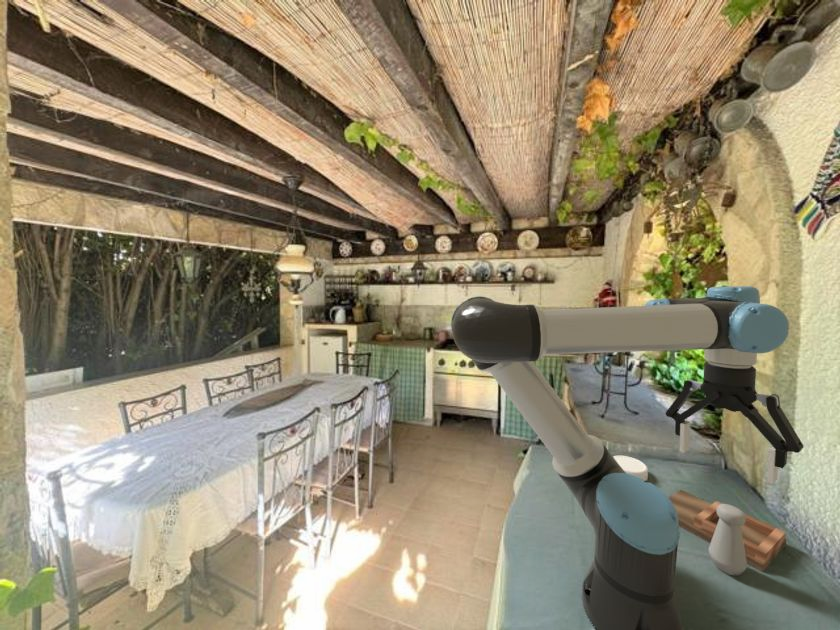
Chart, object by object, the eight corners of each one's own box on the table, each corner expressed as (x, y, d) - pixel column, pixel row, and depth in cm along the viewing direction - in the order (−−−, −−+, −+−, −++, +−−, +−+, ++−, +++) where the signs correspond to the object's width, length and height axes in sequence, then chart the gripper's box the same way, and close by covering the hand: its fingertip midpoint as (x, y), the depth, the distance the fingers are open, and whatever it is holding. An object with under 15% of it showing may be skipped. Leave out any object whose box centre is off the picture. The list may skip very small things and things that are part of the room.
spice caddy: (762, 571, 66) (764, 556, 65) (653, 511, 83) (654, 499, 83) (785, 545, 72) (787, 530, 72) (680, 494, 90) (681, 482, 90)
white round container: (654, 477, 99) (654, 466, 98) (636, 487, 94) (637, 476, 93) (620, 461, 107) (620, 451, 107) (602, 470, 102) (603, 460, 102)
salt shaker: (754, 580, 64) (760, 519, 63) (725, 579, 64) (730, 518, 63) (727, 555, 70) (732, 499, 69) (700, 555, 70) (705, 499, 69)
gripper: (833, 373, 56) (824, 489, 57) (665, 351, 77) (662, 436, 79) (823, 381, 52) (814, 505, 54) (649, 355, 73) (647, 445, 75)
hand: (724, 464), depth 66 cm, fingers open, 13 cm apart
